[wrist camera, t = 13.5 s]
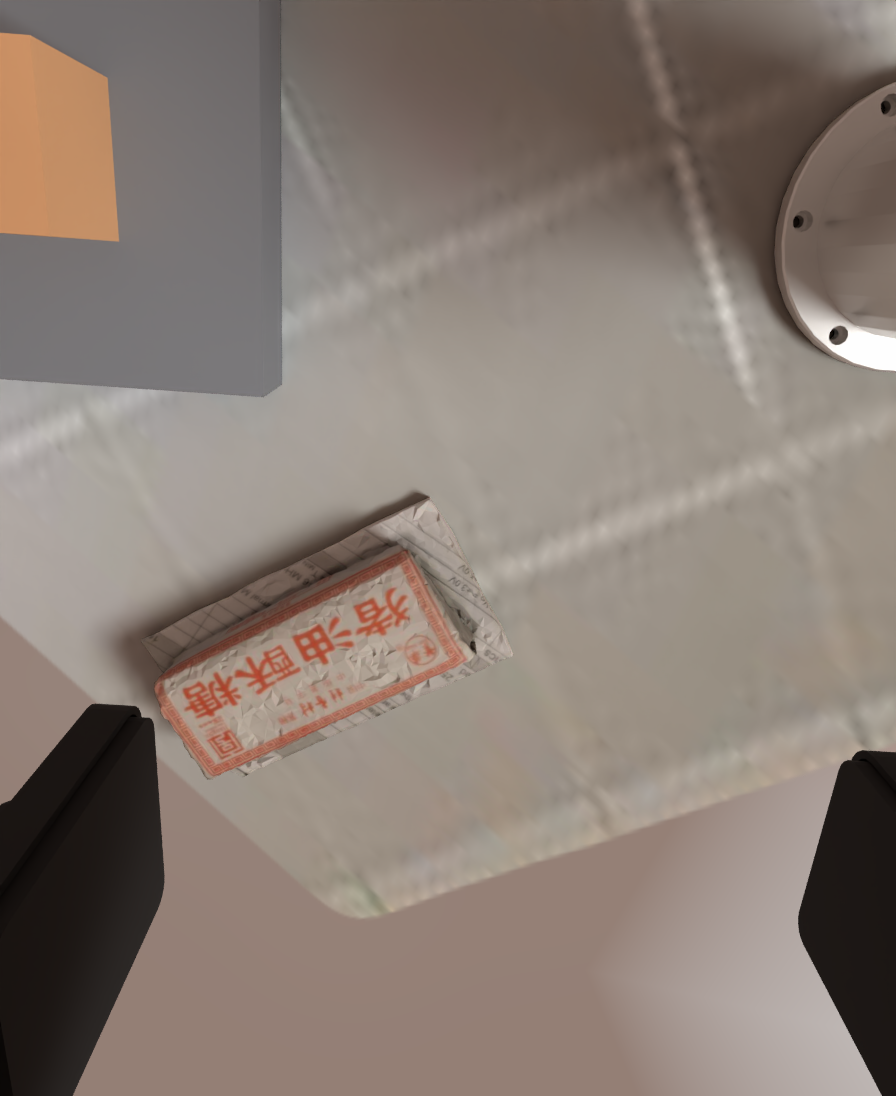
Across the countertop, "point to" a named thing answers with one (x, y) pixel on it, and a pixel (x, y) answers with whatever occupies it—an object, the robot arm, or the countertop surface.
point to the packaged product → (325, 644)
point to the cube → (54, 144)
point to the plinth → (162, 206)
